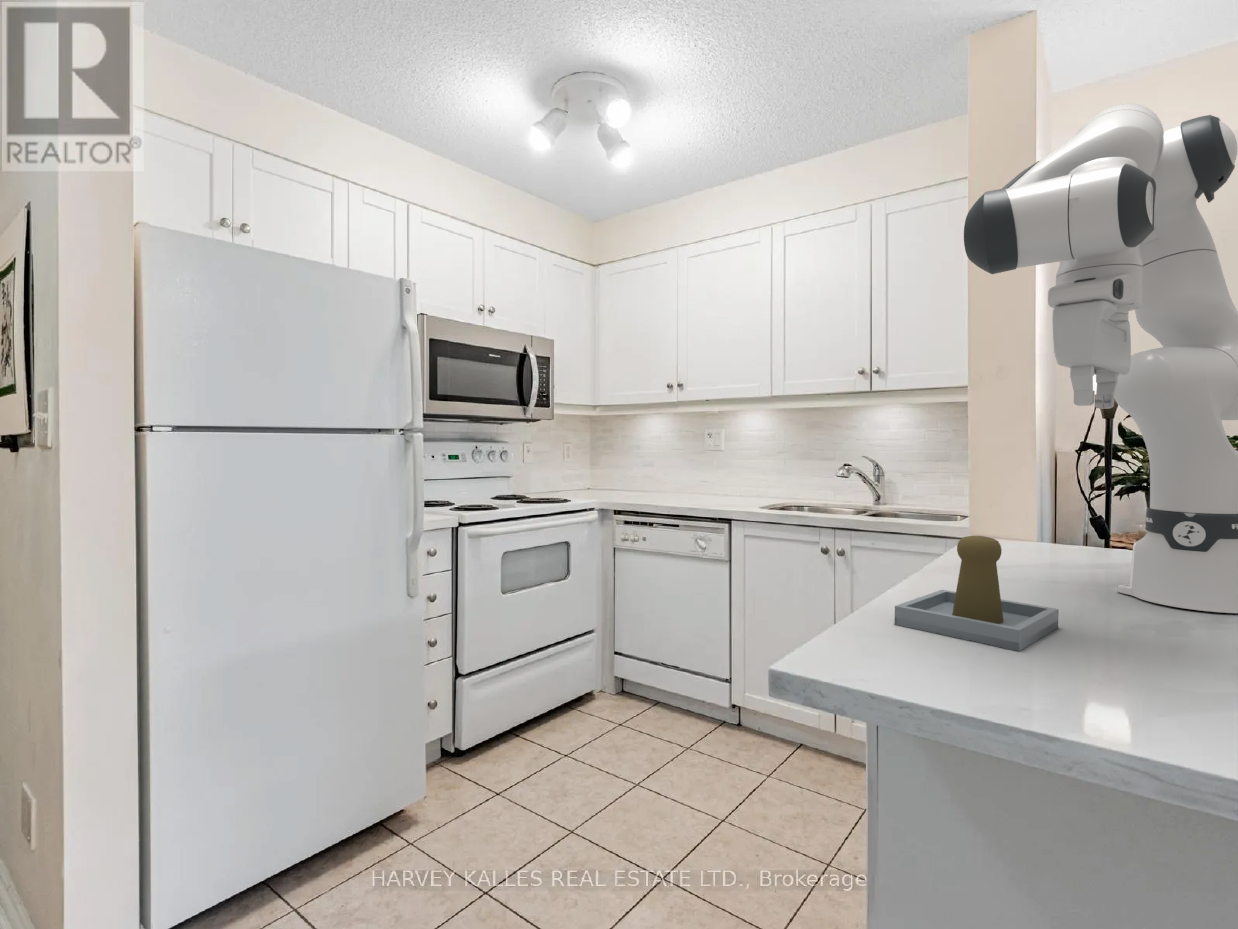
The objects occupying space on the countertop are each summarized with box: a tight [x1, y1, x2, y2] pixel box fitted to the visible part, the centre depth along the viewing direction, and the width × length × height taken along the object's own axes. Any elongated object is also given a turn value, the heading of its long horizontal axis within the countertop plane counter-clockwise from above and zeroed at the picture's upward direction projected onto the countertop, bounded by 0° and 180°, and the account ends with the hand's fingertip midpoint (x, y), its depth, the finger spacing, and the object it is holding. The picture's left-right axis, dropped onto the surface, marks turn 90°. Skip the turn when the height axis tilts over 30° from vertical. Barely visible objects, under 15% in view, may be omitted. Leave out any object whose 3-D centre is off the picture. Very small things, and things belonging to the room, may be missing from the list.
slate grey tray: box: [894, 589, 1060, 652], centre depth 87 cm, size 15×15×2 cm
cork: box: [952, 535, 1003, 624], centre depth 87 cm, size 6×6×11 cm
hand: (1094, 407), depth 82 cm, fingers open, 8 cm apart
